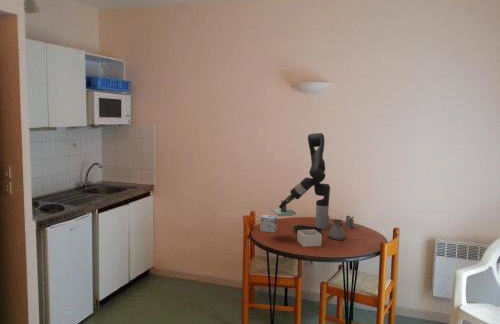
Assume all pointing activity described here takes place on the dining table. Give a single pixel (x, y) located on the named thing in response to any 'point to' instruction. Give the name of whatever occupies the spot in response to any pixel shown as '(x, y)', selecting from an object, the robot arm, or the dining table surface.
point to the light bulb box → (268, 223)
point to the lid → (284, 211)
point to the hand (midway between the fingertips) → (280, 206)
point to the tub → (309, 238)
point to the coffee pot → (337, 230)
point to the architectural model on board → (349, 222)
